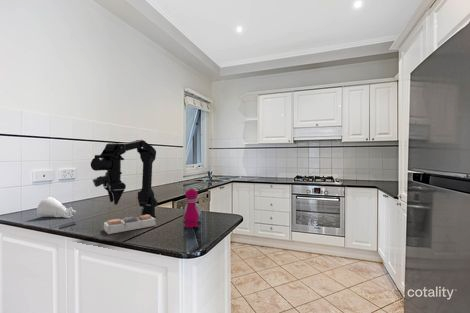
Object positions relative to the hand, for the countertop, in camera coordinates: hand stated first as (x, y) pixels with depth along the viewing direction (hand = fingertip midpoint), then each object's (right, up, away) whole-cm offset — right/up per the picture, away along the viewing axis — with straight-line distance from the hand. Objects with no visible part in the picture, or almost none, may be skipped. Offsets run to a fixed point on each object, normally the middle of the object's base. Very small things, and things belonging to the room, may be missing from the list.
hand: (113, 203), depth 112 cm
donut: (+34, -13, +18) cm, 40 cm away
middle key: (+6, -10, +4) cm, 12 cm away
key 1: (+1, -10, 0) cm, 10 cm away
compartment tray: (+6, -13, +4) cm, 15 cm away
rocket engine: (-45, -13, +25) cm, 53 cm away
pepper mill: (+35, -13, +6) cm, 38 cm away
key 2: (+11, -10, +9) cm, 18 cm away
